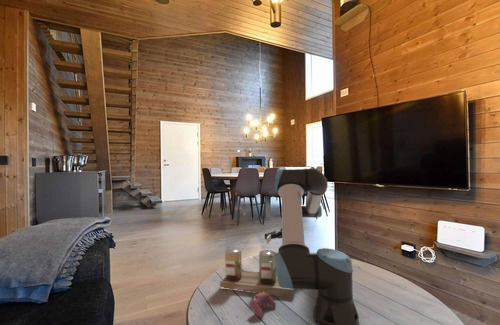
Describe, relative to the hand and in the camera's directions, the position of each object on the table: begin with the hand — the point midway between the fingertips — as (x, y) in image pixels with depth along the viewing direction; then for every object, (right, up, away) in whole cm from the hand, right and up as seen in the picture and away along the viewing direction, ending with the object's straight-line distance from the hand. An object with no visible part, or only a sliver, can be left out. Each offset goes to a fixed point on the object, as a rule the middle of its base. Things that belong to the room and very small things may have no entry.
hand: (280, 241), depth 122 cm
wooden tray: (-11, -17, -7) cm, 21 cm away
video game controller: (-10, -17, -28) cm, 34 cm away
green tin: (-7, -15, -10) cm, 19 cm away
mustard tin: (-23, -15, -6) cm, 28 cm away
